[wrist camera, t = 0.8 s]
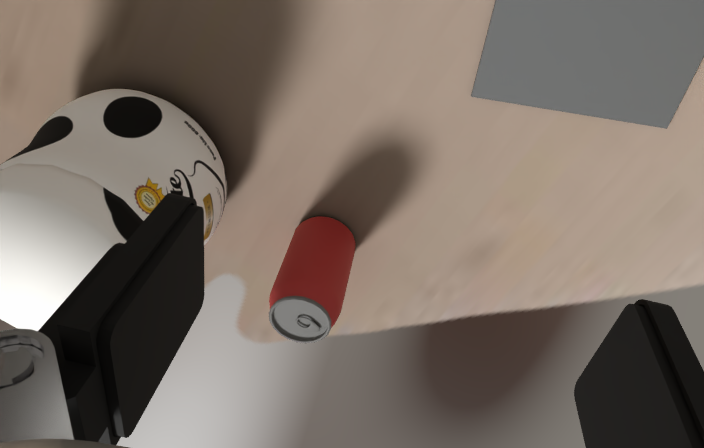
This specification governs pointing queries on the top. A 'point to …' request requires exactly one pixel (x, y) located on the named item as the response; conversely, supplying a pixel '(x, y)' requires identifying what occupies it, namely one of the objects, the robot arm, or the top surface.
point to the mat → (593, 56)
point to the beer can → (312, 280)
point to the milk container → (95, 192)
